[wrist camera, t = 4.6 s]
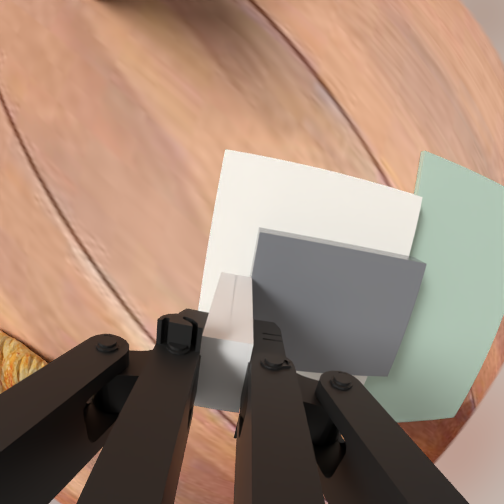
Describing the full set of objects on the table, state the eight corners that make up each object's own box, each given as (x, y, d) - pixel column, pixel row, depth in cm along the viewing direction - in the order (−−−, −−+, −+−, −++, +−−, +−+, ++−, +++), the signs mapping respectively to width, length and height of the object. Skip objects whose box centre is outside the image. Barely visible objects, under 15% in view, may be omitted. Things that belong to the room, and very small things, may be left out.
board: (346, 389, 20) (354, 406, 18) (193, 369, 20) (188, 387, 18) (406, 195, 17) (422, 197, 15) (228, 152, 17) (225, 149, 15)
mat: (451, 414, 22) (453, 417, 21) (339, 419, 21) (341, 423, 21) (528, 201, 17) (532, 202, 17) (421, 151, 17) (424, 150, 16)
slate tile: (379, 363, 18) (387, 376, 16) (236, 348, 17) (235, 362, 16) (414, 257, 16) (426, 263, 15) (258, 227, 16) (259, 231, 14)
